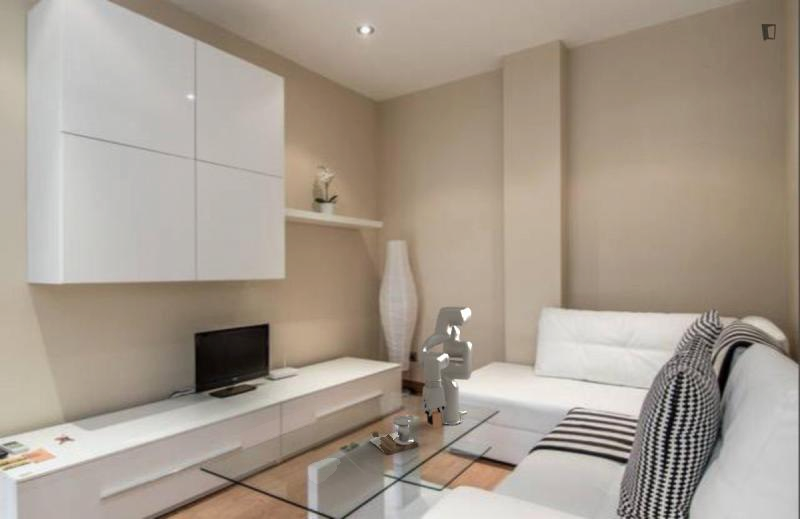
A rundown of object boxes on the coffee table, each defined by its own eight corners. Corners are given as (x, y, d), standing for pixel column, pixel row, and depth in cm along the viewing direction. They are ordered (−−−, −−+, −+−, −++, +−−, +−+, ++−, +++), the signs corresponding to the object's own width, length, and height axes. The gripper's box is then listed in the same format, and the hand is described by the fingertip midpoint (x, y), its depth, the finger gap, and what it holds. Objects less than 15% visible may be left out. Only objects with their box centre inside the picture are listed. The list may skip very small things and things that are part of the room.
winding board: (398, 433, 217) (398, 425, 217) (418, 446, 202) (418, 437, 202) (369, 441, 210) (368, 432, 210) (387, 455, 194) (386, 445, 194)
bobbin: (407, 436, 210) (406, 415, 210) (417, 442, 202) (417, 420, 202) (390, 440, 206) (390, 418, 206) (400, 447, 198) (399, 424, 198)
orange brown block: (436, 423, 210) (435, 410, 210) (441, 426, 206) (441, 413, 206) (428, 425, 208) (427, 412, 208) (433, 428, 204) (433, 415, 204)
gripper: (443, 378, 214) (444, 415, 214) (413, 384, 206) (415, 424, 206) (452, 381, 208) (454, 420, 208) (422, 388, 199) (423, 429, 200)
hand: (434, 421), depth 207 cm, fingers closed on orange brown block, 4 cm apart
